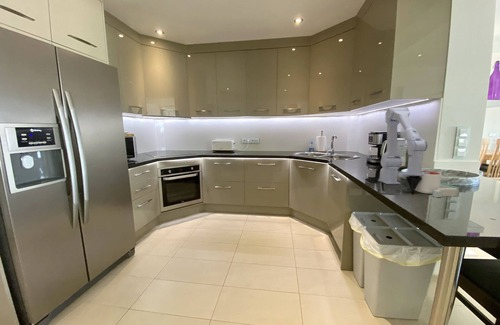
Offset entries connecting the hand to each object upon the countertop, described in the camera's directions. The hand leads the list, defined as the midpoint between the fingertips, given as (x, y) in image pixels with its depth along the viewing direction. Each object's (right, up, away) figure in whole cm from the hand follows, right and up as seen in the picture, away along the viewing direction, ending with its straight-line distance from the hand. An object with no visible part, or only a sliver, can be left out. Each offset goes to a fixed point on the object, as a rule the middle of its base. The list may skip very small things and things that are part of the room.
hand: (412, 190), depth 111 cm
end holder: (+12, -1, 0) cm, 12 cm away
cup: (+7, -1, +1) cm, 8 cm away
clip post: (+6, -2, -8) cm, 10 cm away
